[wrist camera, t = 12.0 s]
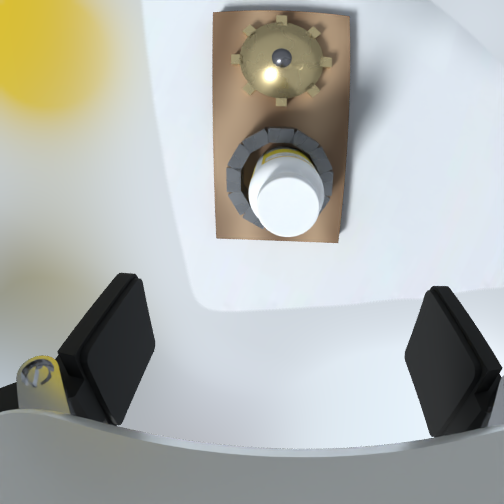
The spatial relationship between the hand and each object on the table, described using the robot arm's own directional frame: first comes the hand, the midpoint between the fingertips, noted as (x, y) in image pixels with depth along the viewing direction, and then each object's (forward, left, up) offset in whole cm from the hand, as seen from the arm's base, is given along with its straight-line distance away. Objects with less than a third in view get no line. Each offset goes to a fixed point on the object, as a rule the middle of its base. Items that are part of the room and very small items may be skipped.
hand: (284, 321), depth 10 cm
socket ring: (0, 0, -21) cm, 21 cm away
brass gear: (0, -11, -21) cm, 23 cm away
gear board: (0, -4, -22) cm, 23 cm away
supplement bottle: (0, 0, -21) cm, 21 cm away
